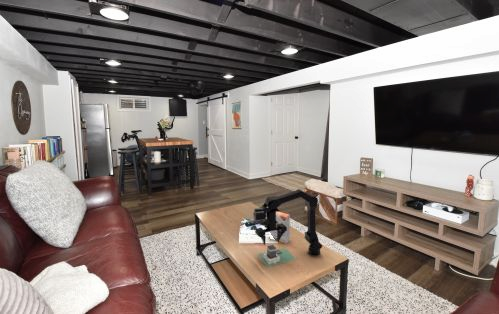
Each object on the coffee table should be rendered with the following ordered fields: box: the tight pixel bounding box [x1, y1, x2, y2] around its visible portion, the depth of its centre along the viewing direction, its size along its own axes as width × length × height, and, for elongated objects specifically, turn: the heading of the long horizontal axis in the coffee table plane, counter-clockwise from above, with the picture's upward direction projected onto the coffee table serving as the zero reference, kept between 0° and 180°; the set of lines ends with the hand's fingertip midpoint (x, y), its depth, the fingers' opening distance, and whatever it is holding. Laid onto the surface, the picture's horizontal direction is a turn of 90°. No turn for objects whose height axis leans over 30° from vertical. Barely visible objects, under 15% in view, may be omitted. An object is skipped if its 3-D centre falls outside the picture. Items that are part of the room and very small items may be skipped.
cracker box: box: [270, 211, 291, 245], centre depth 166 cm, size 14×6×21 cm, turn 51°
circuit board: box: [257, 247, 297, 268], centre depth 146 cm, size 20×14×4 cm
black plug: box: [266, 244, 277, 259], centre depth 143 cm, size 4×4×8 cm
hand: (271, 243), depth 142 cm, fingers open, 9 cm apart
